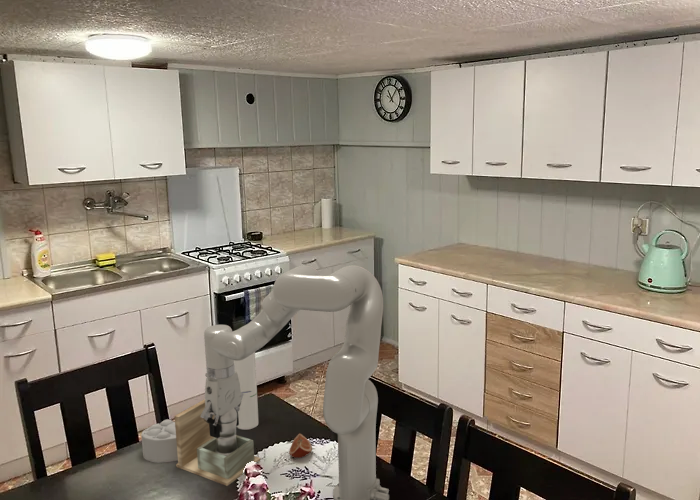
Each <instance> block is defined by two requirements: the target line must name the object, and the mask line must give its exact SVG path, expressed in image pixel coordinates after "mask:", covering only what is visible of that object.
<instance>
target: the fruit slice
mask: <svg viewBox="0 0 700 500" xmlns="http://www.w3.org/2000/svg"><path fill="white" fill-rule="evenodd" d="M288 451H289V452H288V454H289V455H290V456H291V457H292V458H296V459H301V458H304V457H307V456H308V455H309V454H311V452H312V451H313V446H312V443H311V441H310V440H309V439H308V438H307V437H305V435H303V434H302V433H300V432H299V433H298V434H297V435H296V436H295V437H294V438H293V440H292V443H291V445H290V448H289V450H288Z"/></svg>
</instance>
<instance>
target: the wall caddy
mask: <svg viewBox="0 0 700 500" xmlns="http://www.w3.org/2000/svg"><path fill="white" fill-rule="evenodd" d="M204 408H205V398H204V399H203V400H201V401H199V402H197V403H196V404H193V405H192V406H190V407H188V408H186V409H184V410H183V411H181V412H179V413H177V414H174V416H173V417H174V422H175V429H176V441H177V454H178V460H177V463H176V464H175V467H176V468H178V469H181V470H184V471H186V472H189V473H192V474H194V475H197V476H200V477H202V478H205V479H208V480H211V481H213V482H216V483H217V484H221V485H224V486H226V487H228V486H230V485H231V484H232V483H233V482H235V481H236V480H237V479H238V478H240V477H241V476H242V475H243V474H242V473H243V470H244V468H245V466H246V464H247V463H249V462H251V461H254V462H258V461H259V462H261V461H260V460H261V457H259V456H256V455H255V449H254V448H255V447H254V443H255V442H254V440H253V439H251V438H247V437H244V436H242V435H237V434H236V440H237V447H238V449H236V450H235V451H233V452H232V453H231V454H229V455H228V456H224V455H221V454H218V453H216V452H215V451H216V439H217V438H215V437H212V436H210V430H209V424H208V423H207V422H206V421H204V420H203V419H202V418H201V417H200V416H201V414H202V412H203V410H204ZM208 415H209V414H208ZM212 419H213V417H212ZM213 420H214V419H213ZM259 462H258V463H259Z"/></svg>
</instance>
